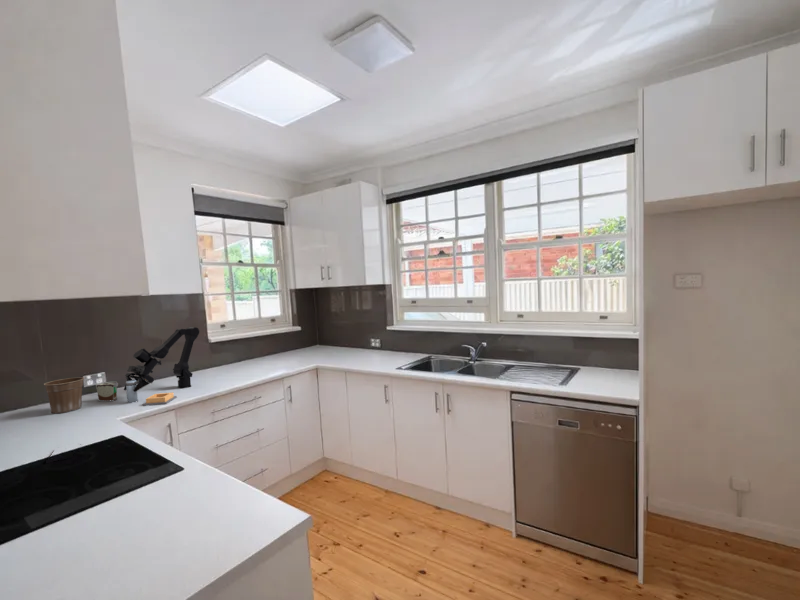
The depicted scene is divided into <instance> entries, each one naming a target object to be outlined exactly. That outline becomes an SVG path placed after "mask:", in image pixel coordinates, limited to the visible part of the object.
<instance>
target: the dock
mask: <svg viewBox="0 0 800 600" xmlns="http://www.w3.org/2000/svg"><path fill="white" fill-rule="evenodd" d="M176 398H178V397H177V395H174V392H161V393H154V394H152V395H150V396H148V397H147V398H145V402H144V403H142V406H143V407H147V406H146V405H149V406H161V405H167V404H169V403H171V402H172V401H174V400H175V399H176Z"/></svg>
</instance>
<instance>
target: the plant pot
mask: <svg viewBox="0 0 800 600" xmlns="http://www.w3.org/2000/svg"><path fill="white" fill-rule="evenodd" d="M84 380H85V377H84V376H83V377H82V376H81V377H80V376H79V377H69V378H62V379H55V380H52V381H47V382H45V383H43V386H44V387H45V392H47V397H48V402H49V407H50V412H51V414H64V413H69V412H71V411H76V410H79V409H81V408H82V398H83V397H82V395H83V386H84Z"/></svg>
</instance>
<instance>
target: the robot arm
mask: <svg viewBox="0 0 800 600" xmlns="http://www.w3.org/2000/svg"><path fill="white" fill-rule="evenodd" d="M200 333H201V332H200V329H199V328H198V327H195V326H194V327H193V326H190V327H187V328H176V329H175V330H174V332H173V333H172V334H171V335H170V336H169V337H168V338H167V339H166V340H165V341H164V342H163V343H162V344H160V345H159V346H156V347H155V348H154V349H152V351H147V350H146V348H143V347H141V349H139V350H138V351H136V352H134V354H133V355H132V356H133V358H134V359H135V360H136V361H138V362H139V363H142V364H143V365H135V366H134V365H129V366H128V368H127V373H126V374H125V375H124V377H125V378H126V381H130V380H136V382H137V385H136V387H135V388H134V390H133V391H134V392H136V391H137V392H138V391H140V390H141V389H143V388H144V387H146V386H148V385H150V384H153V382H154V381H155V378H154V377H152V376H151V375H150V374H153V372H154V371H153V370H154V369H155V367H156V366H157V365H158V366H162V359H164V358H166V356H167V355H168V353H169V350H170V349H171V347H172V346H174V345H175V343H176V342H178V340H179V339H180V338H181V337H182V336H183V335H184V338H185V341H184V345H183V349H182V351H181V355H180V358H179V361H178V363H175V364H174V367H173V369H172V371H173V374H174V375H175V377H176V378H177V387H178V388H179V389H185V388H190V387H192V384H191V378H192V377H193V372H191V371H190V370H189V369H190V365H189V360H190V356H191V354H192V350H193V347H194V343H195V341H196V340H197V339H198V336H199V334H200ZM123 390H124V391H125V392H127V390H126V384H125V385H124V388H123Z"/></svg>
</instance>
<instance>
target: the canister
mask: <svg viewBox="0 0 800 600" xmlns="http://www.w3.org/2000/svg"><path fill="white" fill-rule="evenodd" d="M137 384H138V381H136V380H130V381H127V380H126V381H125V385H126V401H127V404H133V403H132V402H134V403H137V402H138V401H139V398H138V390H137V391H136V392H134V391H133V390H134V388H135V387H136V385H137ZM136 401H137V402H136Z"/></svg>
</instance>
